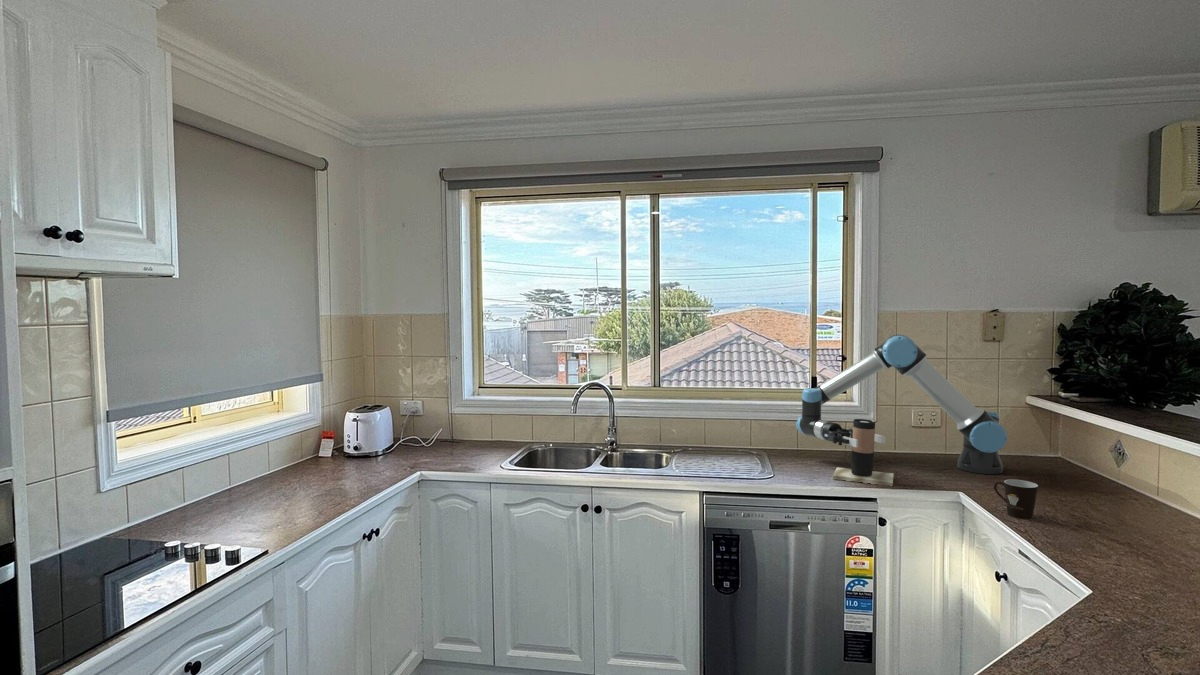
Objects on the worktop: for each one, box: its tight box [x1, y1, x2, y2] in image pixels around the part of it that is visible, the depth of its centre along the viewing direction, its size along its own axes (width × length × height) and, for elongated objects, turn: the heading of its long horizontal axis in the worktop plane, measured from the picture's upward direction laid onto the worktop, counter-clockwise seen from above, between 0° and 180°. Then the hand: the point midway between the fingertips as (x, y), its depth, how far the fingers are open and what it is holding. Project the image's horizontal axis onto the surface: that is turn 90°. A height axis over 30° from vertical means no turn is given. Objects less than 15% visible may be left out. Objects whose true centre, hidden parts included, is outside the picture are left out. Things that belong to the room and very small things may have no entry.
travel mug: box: [850, 418, 876, 476], centre depth 229 cm, size 8×8×20 cm
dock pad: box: [832, 467, 894, 487], centre depth 229 cm, size 20×13×2 cm, turn 63°
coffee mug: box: [993, 479, 1039, 520], centre depth 189 cm, size 12×9×10 cm
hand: (871, 441), depth 225 cm, fingers open, 13 cm apart
